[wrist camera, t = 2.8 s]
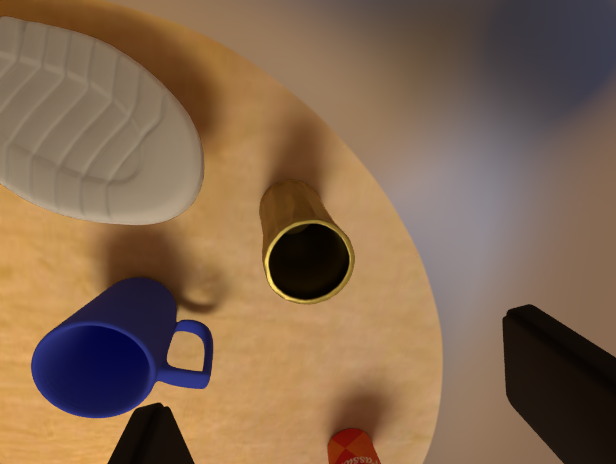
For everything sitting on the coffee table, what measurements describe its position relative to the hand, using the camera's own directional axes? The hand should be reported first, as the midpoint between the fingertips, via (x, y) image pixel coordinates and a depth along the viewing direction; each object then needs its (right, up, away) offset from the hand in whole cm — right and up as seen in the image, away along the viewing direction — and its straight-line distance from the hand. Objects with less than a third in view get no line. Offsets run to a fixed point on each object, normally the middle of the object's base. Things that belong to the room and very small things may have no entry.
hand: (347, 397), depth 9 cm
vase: (-3, +7, +23) cm, 24 cm away
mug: (-16, -3, +24) cm, 29 cm away
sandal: (-22, +13, +12) cm, 28 cm away
